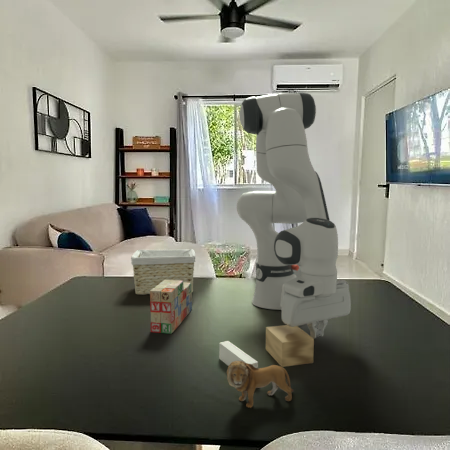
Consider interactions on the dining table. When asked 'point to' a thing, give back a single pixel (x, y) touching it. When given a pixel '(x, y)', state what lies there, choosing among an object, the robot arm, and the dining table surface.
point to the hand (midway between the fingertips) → (316, 336)
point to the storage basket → (161, 268)
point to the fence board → (234, 354)
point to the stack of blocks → (169, 305)
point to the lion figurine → (257, 379)
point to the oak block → (289, 345)
